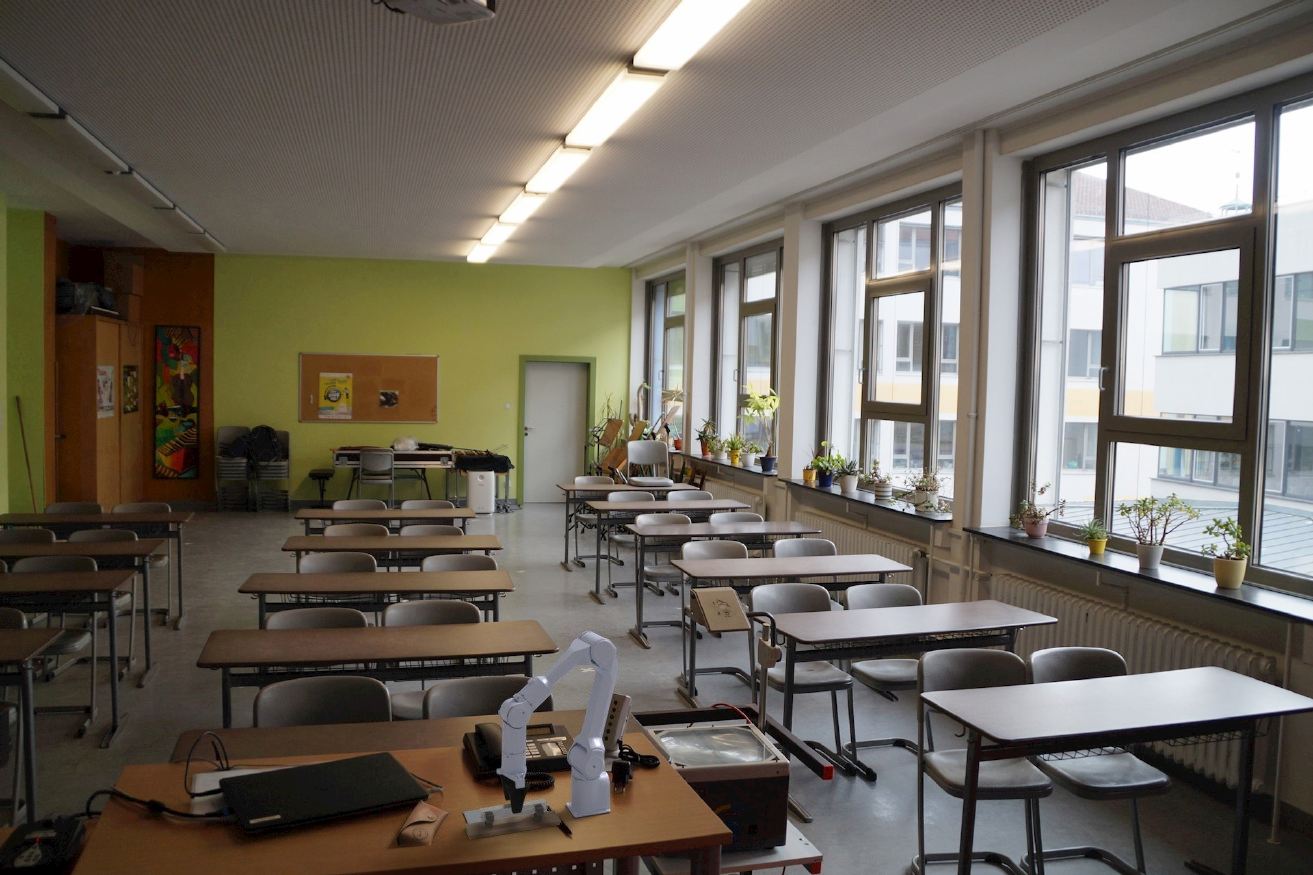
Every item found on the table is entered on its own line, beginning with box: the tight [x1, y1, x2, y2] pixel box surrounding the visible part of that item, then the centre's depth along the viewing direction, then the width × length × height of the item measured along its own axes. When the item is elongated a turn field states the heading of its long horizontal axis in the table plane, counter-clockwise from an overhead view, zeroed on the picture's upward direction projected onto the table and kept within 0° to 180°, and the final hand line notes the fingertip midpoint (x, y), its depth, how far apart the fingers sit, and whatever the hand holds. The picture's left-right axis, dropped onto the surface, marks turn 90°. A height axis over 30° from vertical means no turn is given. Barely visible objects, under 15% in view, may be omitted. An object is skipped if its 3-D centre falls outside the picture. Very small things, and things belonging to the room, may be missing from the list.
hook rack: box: [464, 798, 562, 840], centre depth 216 cm, size 22×6×5 cm, turn 112°
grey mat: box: [463, 808, 547, 824], centre depth 223 cm, size 20×7×1 cm, turn 112°
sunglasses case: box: [396, 799, 450, 847], centre depth 215 cm, size 18×7×7 cm
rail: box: [479, 798, 548, 821], centre depth 216 cm, size 16×2×2 cm, turn 112°
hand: (513, 806), depth 216 cm, fingers open, 7 cm apart
